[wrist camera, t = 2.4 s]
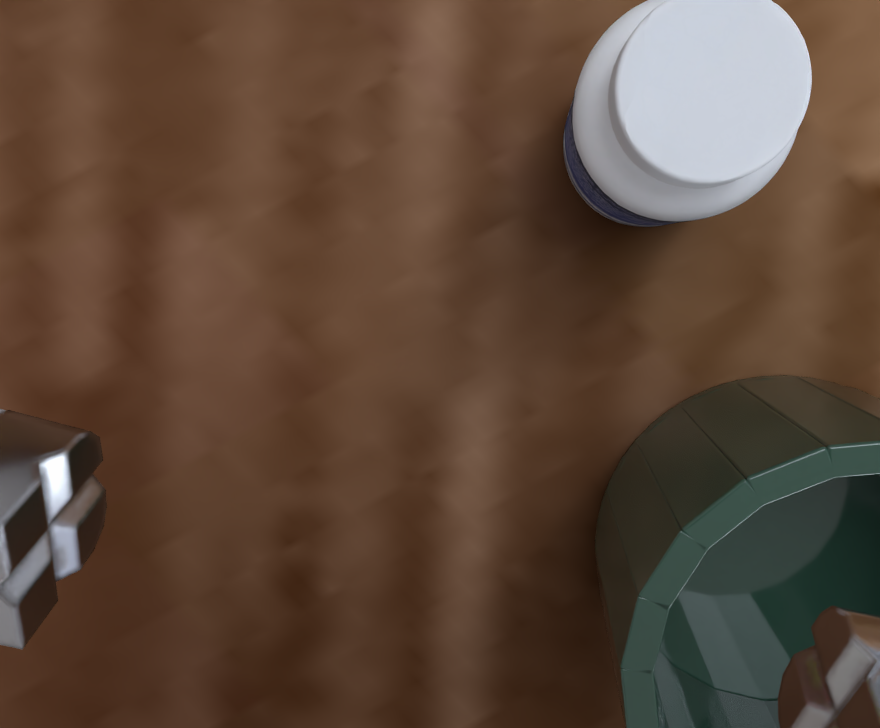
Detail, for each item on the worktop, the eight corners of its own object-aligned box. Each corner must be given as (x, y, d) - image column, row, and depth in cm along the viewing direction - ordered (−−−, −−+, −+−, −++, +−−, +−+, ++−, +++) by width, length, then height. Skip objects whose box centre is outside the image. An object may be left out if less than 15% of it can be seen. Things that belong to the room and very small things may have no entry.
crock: (967, 701, 28) (1170, 917, 19) (611, 718, 29) (646, 925, 20) (953, 356, 26) (1168, 415, 17) (578, 394, 28) (599, 466, 19)
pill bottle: (692, 251, 26) (781, 257, 17) (538, 194, 27) (540, 168, 17) (760, 89, 26) (897, -2, 16) (599, 32, 26) (638, -92, 16)
